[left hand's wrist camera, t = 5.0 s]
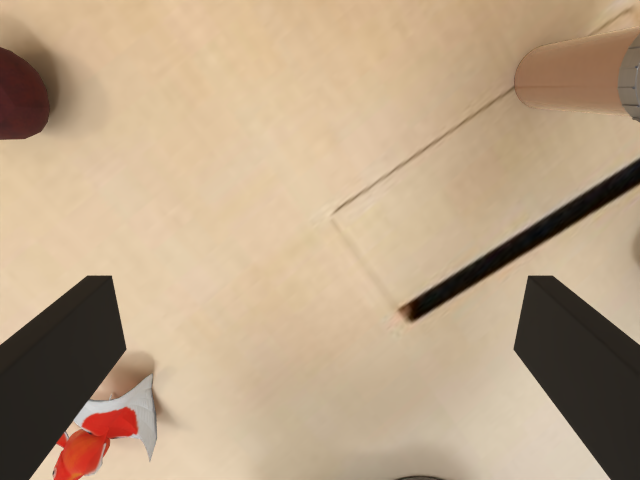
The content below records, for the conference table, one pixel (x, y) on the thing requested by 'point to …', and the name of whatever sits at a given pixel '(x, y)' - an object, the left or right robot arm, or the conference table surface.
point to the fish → (107, 430)
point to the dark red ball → (21, 98)
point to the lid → (630, 80)
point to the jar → (576, 74)
